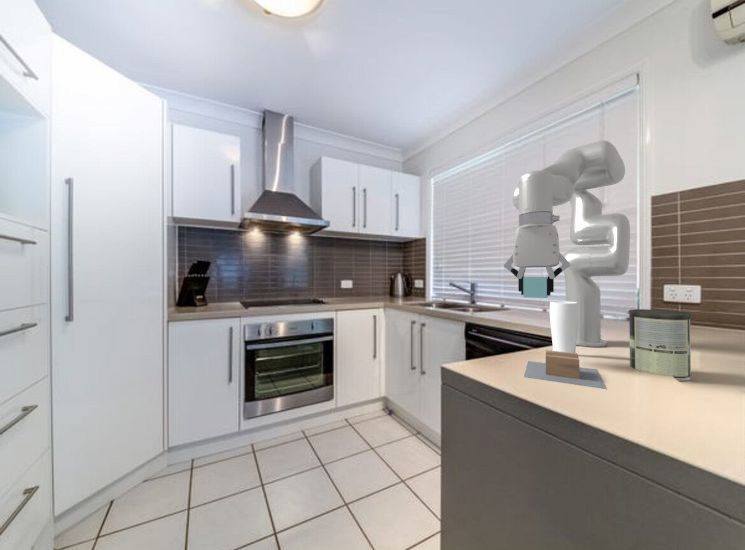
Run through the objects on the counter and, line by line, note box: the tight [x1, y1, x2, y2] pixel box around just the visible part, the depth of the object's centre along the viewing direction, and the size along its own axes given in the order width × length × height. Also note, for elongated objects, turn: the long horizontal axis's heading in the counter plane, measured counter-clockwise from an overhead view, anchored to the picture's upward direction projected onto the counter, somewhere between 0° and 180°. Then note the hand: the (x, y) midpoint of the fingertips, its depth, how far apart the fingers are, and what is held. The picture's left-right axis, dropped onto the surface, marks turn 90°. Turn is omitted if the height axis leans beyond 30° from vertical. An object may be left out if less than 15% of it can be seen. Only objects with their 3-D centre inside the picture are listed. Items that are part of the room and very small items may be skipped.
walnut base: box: [545, 349, 580, 379], centre depth 67 cm, size 6×6×4 cm
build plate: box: [523, 360, 608, 390], centre depth 67 cm, size 14×14×1 cm
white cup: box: [549, 300, 578, 353], centre depth 84 cm, size 7×7×15 cm
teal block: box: [522, 276, 548, 299], centre depth 76 cm, size 5×5×5 cm
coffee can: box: [628, 308, 692, 382], centre depth 69 cm, size 10×10×14 cm
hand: (535, 294), depth 76 cm, fingers closed on teal block, 5 cm apart
